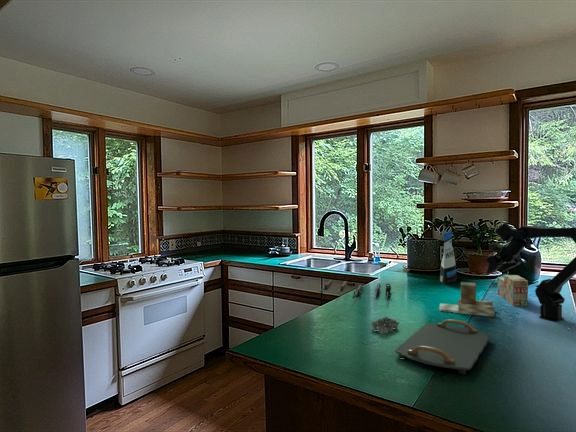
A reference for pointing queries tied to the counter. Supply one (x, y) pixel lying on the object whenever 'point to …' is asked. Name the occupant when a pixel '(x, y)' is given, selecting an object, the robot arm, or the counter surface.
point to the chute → (470, 308)
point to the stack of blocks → (513, 289)
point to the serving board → (445, 345)
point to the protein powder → (448, 261)
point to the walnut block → (468, 293)
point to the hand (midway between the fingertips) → (493, 272)
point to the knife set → (359, 289)
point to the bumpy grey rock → (384, 328)
